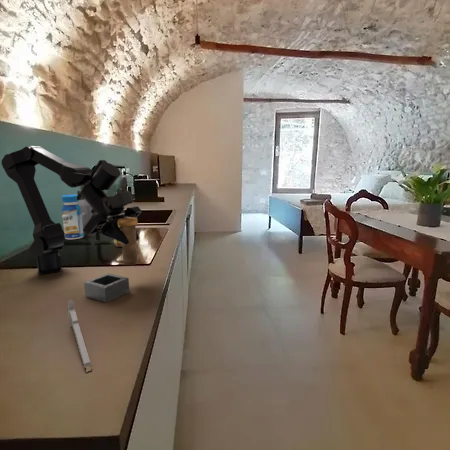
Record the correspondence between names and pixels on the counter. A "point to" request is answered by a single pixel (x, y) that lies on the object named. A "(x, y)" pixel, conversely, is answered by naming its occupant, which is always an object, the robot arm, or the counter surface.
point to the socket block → (106, 287)
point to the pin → (130, 233)
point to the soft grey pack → (85, 211)
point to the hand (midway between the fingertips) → (133, 241)
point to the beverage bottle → (72, 217)
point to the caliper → (78, 333)
